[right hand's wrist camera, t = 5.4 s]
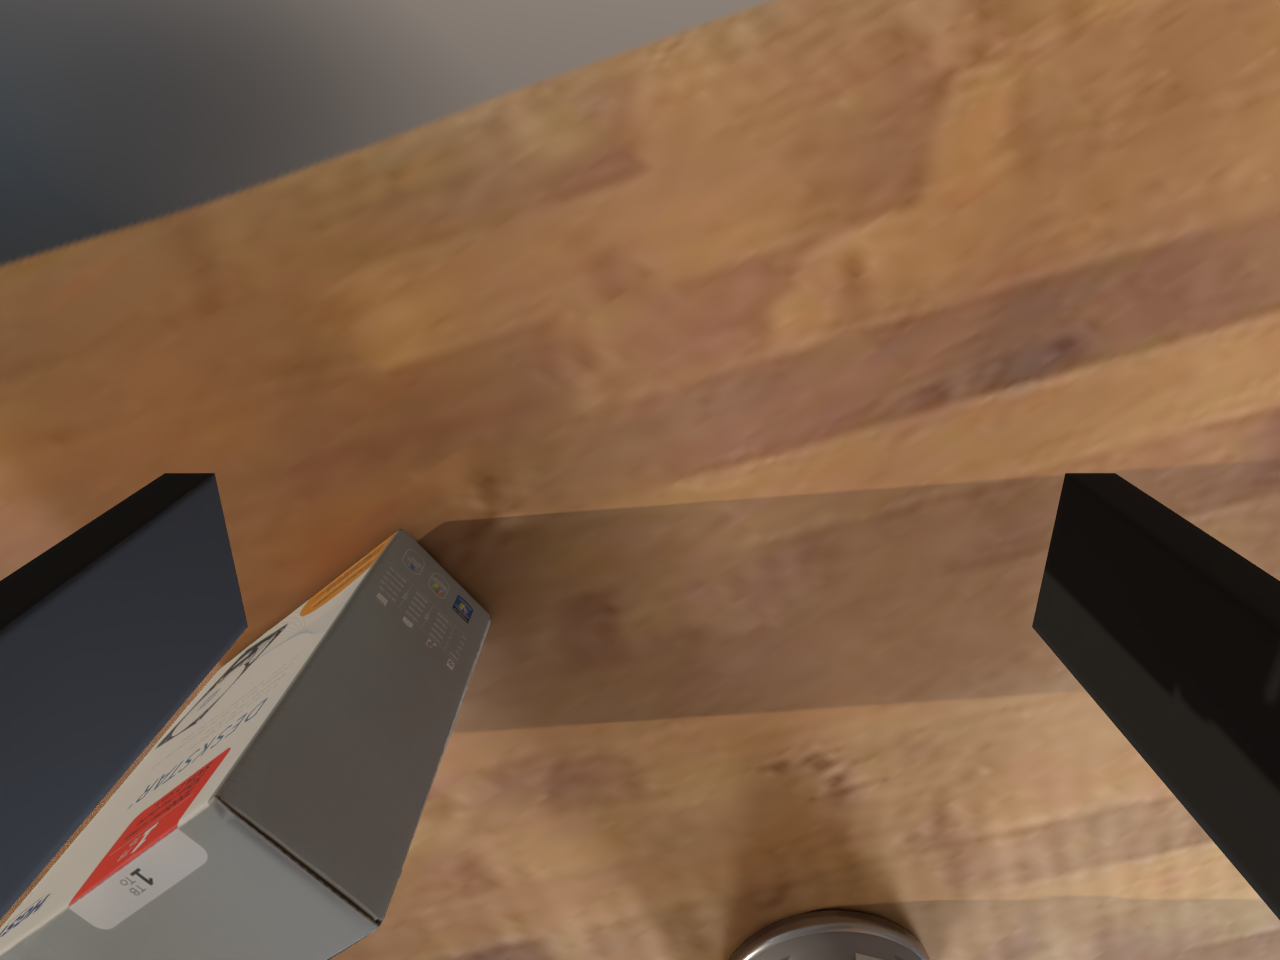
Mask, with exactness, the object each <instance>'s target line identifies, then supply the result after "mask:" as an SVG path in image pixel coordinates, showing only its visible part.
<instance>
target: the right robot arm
mask: <svg viewBox="0 0 1280 960" xmlns="http://www.w3.org/2000/svg"><path fill="white" fill-rule="evenodd" d="M247 627H248V626H247V621H246V616H245V612H244V607H243V603H242V598H241V593H240V589H239V584H238V579H237V575H236V570H235V566H234V561H233V556H232V552H231V547H230V543H229V538H228V533H227V529H226V524H225V519H224V515H223V510H222V506H221V501H220V496H219V492H218V487H217V483H216V478H215V473H165V474H163V475H162V476H160V477H159V478H157V479H156V480H154V481H153V482H151V483H149V484H148V485H146V486H145V487H143V488H142V489H140V490H139V491H137V492H136V493H134V494H133V495H131V496H130V497H128V498H127V499H125V500H124V501H122V502H120V503H119V504H117V505H116V506H114V507H113V508H111V509H110V510H108V511H107V512H105V513H104V514H102V515H101V516H99V517H98V518H96V519H95V520H93V521H91V522H90V523H88V524H87V525H85V526H84V527H82V528H81V529H79V530H78V531H76V532H75V533H73V534H72V535H70V536H69V537H67V538H65V539H64V540H62V541H61V542H59V543H58V544H56V545H55V546H53V547H52V548H50V549H49V550H47V551H46V552H44V553H43V554H41V555H40V556H38V557H36V558H35V559H33V560H32V561H30V562H29V563H27V564H26V565H24V566H23V567H21V568H20V569H18V570H17V571H15V572H14V573H12V574H11V575H9V576H7V577H6V578H4V579H3V580H1V581H0V920H1V918H2V917H3V916H4V915H5V914H6V913H7V911H8V910H9V909H10V908H11V907H12V905H13V904H14V903H15V902H16V901H17V899H18V898H19V897H20V896H21V895H22V894H23V892H24V891H25V890H26V889H27V888H28V886H29V885H30V884H31V883H32V882H33V881H34V879H35V878H36V877H37V876H38V875H39V873H40V872H41V871H42V870H43V869H44V867H45V866H46V865H47V864H48V863H49V862H50V860H51V859H52V858H53V857H54V856H55V854H56V853H57V852H58V851H59V850H60V849H61V847H62V846H63V845H64V844H65V843H66V841H67V840H68V839H69V838H70V837H71V836H72V834H73V833H74V832H75V831H76V830H77V828H78V827H79V826H80V825H81V824H82V822H83V821H84V820H85V819H86V818H87V817H88V815H89V814H90V813H91V812H92V811H93V809H94V808H95V807H96V806H97V805H98V804H99V802H100V801H101V800H102V799H103V798H104V796H105V795H106V794H107V793H108V792H109V791H110V789H111V788H112V787H113V786H114V785H115V783H116V782H117V781H118V780H119V779H120V777H121V776H122V775H123V774H124V773H125V772H126V770H127V769H128V768H129V767H130V766H131V764H132V763H133V762H134V761H135V760H136V759H137V757H138V756H139V755H140V754H141V753H142V751H143V750H144V749H145V748H146V747H147V746H148V744H149V743H150V742H151V741H152V740H153V738H154V737H155V736H156V735H157V734H158V732H159V731H160V730H161V729H162V728H163V727H164V725H165V724H166V723H167V722H168V721H169V719H170V718H171V717H172V716H173V715H174V714H175V712H176V711H177V710H178V709H179V708H180V706H181V705H182V704H183V703H184V702H185V701H186V699H187V698H188V697H189V696H190V695H191V693H192V692H193V691H194V690H195V689H196V687H197V686H198V685H199V684H200V683H201V682H202V680H203V679H204V678H205V677H206V676H207V674H208V673H209V672H210V671H211V670H212V669H213V667H214V666H215V665H216V664H217V663H218V661H219V660H220V659H221V658H222V657H223V655H224V654H225V653H226V652H227V651H228V650H229V648H230V647H231V646H232V645H233V644H234V642H235V641H236V640H237V639H238V638H239V637H240V635H241V634H242V633H243V632H244V631H245V629H246V628H247ZM1032 627H1033V628H1034V629H1035V631H1036V632H1037V633H1038V634H1039V635H1040V637H1041V638H1042V639H1043V640H1044V641H1045V642H1046V644H1047V645H1048V646H1049V647H1050V648H1051V650H1052V651H1053V652H1054V653H1055V654H1056V655H1057V657H1058V658H1059V659H1060V660H1061V661H1062V663H1063V664H1064V665H1065V666H1066V667H1067V669H1068V670H1069V671H1070V672H1071V673H1072V674H1073V676H1074V677H1075V678H1076V679H1077V680H1078V682H1079V683H1080V684H1081V685H1082V686H1083V687H1084V689H1085V690H1086V691H1087V692H1088V693H1089V695H1090V696H1091V697H1092V698H1093V699H1094V701H1095V702H1096V703H1097V704H1098V705H1099V706H1100V708H1101V709H1102V710H1103V711H1104V712H1105V714H1106V715H1107V716H1108V717H1109V718H1110V719H1111V721H1112V722H1113V723H1114V724H1115V725H1116V727H1117V728H1118V729H1119V730H1120V731H1121V732H1122V734H1123V735H1124V736H1125V737H1126V738H1127V740H1128V741H1129V742H1130V743H1131V744H1132V746H1133V747H1134V748H1135V749H1136V750H1137V751H1138V753H1139V754H1140V755H1141V756H1142V757H1143V759H1144V760H1145V761H1146V762H1147V763H1148V764H1149V766H1150V767H1151V768H1152V769H1153V770H1154V772H1155V773H1156V774H1157V775H1158V776H1159V777H1160V779H1161V780H1162V781H1163V782H1164V783H1165V785H1166V786H1167V787H1168V788H1169V789H1170V791H1171V792H1172V793H1173V794H1174V795H1175V796H1176V798H1177V799H1178V800H1179V801H1180V802H1181V804H1182V805H1183V806H1184V807H1185V808H1186V809H1187V811H1188V812H1189V813H1190V814H1191V815H1192V817H1193V818H1194V819H1195V820H1196V821H1197V822H1198V824H1199V825H1200V826H1201V827H1202V828H1203V830H1204V831H1205V832H1206V833H1207V834H1208V836H1209V837H1210V838H1211V839H1212V840H1213V841H1214V843H1215V844H1216V845H1217V846H1218V847H1219V849H1220V850H1221V851H1222V852H1223V853H1224V854H1225V856H1226V857H1227V858H1228V859H1229V860H1230V862H1231V863H1232V864H1233V865H1234V866H1235V868H1236V869H1237V870H1238V871H1239V872H1240V873H1241V875H1242V876H1243V877H1244V878H1245V879H1246V881H1247V882H1248V883H1249V884H1250V885H1251V886H1252V888H1253V889H1254V890H1255V891H1256V892H1257V894H1258V895H1259V896H1260V897H1261V898H1262V899H1263V901H1264V902H1265V903H1266V904H1267V905H1268V907H1269V908H1270V909H1271V910H1272V911H1273V913H1274V914H1275V915H1276V916H1277V917H1278V918H1279V920H1280V581H1279V580H1277V579H1276V578H1274V577H1273V576H1271V575H1269V574H1268V573H1266V572H1265V571H1263V570H1262V569H1260V568H1259V567H1257V566H1256V565H1254V564H1253V563H1251V562H1250V561H1248V560H1247V559H1245V558H1244V557H1242V556H1240V555H1239V554H1237V553H1236V552H1234V551H1233V550H1231V549H1230V548H1228V547H1227V546H1225V545H1224V544H1222V543H1221V542H1219V541H1218V540H1216V539H1215V538H1213V537H1211V536H1210V535H1208V534H1207V533H1205V532H1204V531H1202V530H1201V529H1199V528H1198V527H1196V526H1195V525H1193V524H1192V523H1190V522H1189V521H1187V520H1185V519H1184V518H1182V517H1181V516H1179V515H1178V514H1176V513H1175V512H1173V511H1172V510H1170V509H1169V508H1167V507H1166V506H1164V505H1163V504H1161V503H1160V502H1158V501H1156V500H1155V499H1153V498H1152V497H1150V496H1149V495H1147V494H1146V493H1144V492H1143V491H1141V490H1140V489H1138V488H1137V487H1135V486H1134V485H1132V484H1131V483H1129V482H1127V481H1126V480H1124V479H1123V478H1121V477H1120V476H1118V475H1117V474H1115V473H1065V478H1064V483H1063V487H1062V492H1061V496H1060V501H1059V506H1058V510H1057V515H1056V519H1055V524H1054V529H1053V533H1052V538H1051V543H1050V547H1049V552H1048V556H1047V561H1046V566H1045V570H1044V575H1043V579H1042V584H1041V589H1040V593H1039V598H1038V603H1037V607H1036V612H1035V616H1034V621H1033V626H1032ZM729 960H930V959H929V957H928V955H927V952H926V951H925V949H924V948H923V946H922V945H921V944H920V943H919V941H918V940H917V939H916V938H915V937H914V936H913V935H911V934H910V933H909V932H908V931H906V930H905V929H903V928H902V927H900V926H898V925H897V924H895V923H893V922H890V921H888V920H886V919H883V918H880V917H878V916H874V915H870V914H866V913H860V912H854V911H840V910H831V911H817V912H810V913H805V914H800V915H796V916H792V917H789V918H786V919H783V920H780V921H778V922H776V923H773V924H771V925H769V926H767V927H765V928H763V929H762V930H760V931H758V932H757V933H755V934H754V935H752V936H751V937H750V938H748V939H747V940H746V941H745V942H744V943H742V944H741V945H740V946H739V947H738V949H737V950H736V951H735V952H734V953H733V954H732V956H731V957H730V959H729Z"/></svg>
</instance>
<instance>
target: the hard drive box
mask: <svg viewBox="0 0 1280 960" xmlns="http://www.w3.org/2000/svg"><path fill="white" fill-rule="evenodd" d="M489 618H490V615H489V614H488V613H487V612H486V611H485V610H484V609H483V608H482V607H481V606H480V605H479V604H478V603H477V602H476V601H475V600H474V599H473V598H472V597H471V596H470V595H469V594H468V593H467V592H466V591H465V590H464V589H463V588H462V587H461V586H460V585H459V584H458V583H457V582H456V581H455V580H454V579H453V578H452V577H451V576H450V575H449V574H448V573H447V572H446V571H445V570H444V569H443V568H442V567H441V566H440V565H439V564H438V563H437V562H436V561H435V560H434V559H433V558H432V557H431V556H430V555H429V554H428V553H427V552H426V551H425V550H424V549H423V548H422V547H421V546H420V545H419V544H418V543H417V542H416V541H415V540H414V539H413V538H412V537H411V536H410V535H409V534H408V533H407V532H405V531H404V530H401V529H400V530H398V531H397V532H395V533H394V534H393V535H391V536H390V537H389V538H387V539H386V540H385V541H383V542H382V543H381V544H380V545H378V546H377V547H376V548H374V549H373V550H372V551H371V552H369V553H368V554H367V555H365V556H364V557H363V558H361V559H360V560H359V561H357V562H356V563H355V564H354V565H352V566H351V567H350V568H349V569H347V570H346V571H345V572H343V573H342V574H341V575H340V576H338V577H337V578H336V579H335V580H333V581H332V582H331V583H329V584H328V585H327V586H326V587H324V588H323V589H322V590H320V591H319V592H318V593H317V594H315V595H314V596H313V597H312V598H310V599H309V600H308V601H306V602H305V603H304V604H302V605H301V606H300V607H298V608H297V609H296V610H295V611H293V612H292V613H291V614H290V615H288V616H287V617H286V618H284V619H283V620H282V621H280V622H279V623H278V624H277V625H275V626H274V627H273V628H271V629H270V630H268V631H267V632H266V633H265V634H263V635H262V636H261V637H260V638H259V639H257V640H256V641H255V642H253V643H252V644H251V645H249V646H248V647H247V648H246V649H244V650H243V651H242V652H241V653H239V654H238V655H237V656H236V657H235V658H233V659H232V660H231V661H229V662H228V663H227V664H225V665H224V666H223V667H222V668H220V669H219V671H218V672H217V673H216V674H215V675H214V676H213V677H212V678H211V680H210V681H209V682H208V683H207V684H206V686H205V687H204V688H203V689H202V690H201V691H200V693H199V694H198V695H197V696H196V697H195V698H194V700H193V701H192V702H191V703H190V704H189V705H188V706H187V708H186V709H185V710H184V711H183V712H182V714H181V715H180V716H179V717H178V718H177V719H176V721H175V722H174V723H173V724H172V725H171V727H170V728H169V729H168V730H167V731H166V733H165V734H164V735H163V736H162V737H161V739H160V740H159V741H158V742H157V743H156V745H155V746H154V747H153V748H152V749H151V751H150V752H149V753H148V754H147V755H146V757H145V758H144V759H143V760H142V761H141V762H140V764H139V765H138V766H137V767H136V768H135V770H134V771H133V772H132V773H131V774H130V776H129V777H128V778H127V779H126V780H125V781H124V783H123V784H122V785H121V786H120V787H119V788H118V790H117V791H116V792H115V793H114V794H113V795H112V797H111V798H110V799H109V800H108V801H107V803H106V804H105V805H104V806H103V807H102V809H101V810H100V811H99V812H98V813H97V815H96V816H95V817H94V818H93V819H92V820H91V822H90V823H89V824H88V825H87V826H86V827H85V829H84V830H83V831H82V832H81V833H80V834H79V835H78V837H77V838H76V839H75V840H74V841H73V843H72V844H71V845H70V846H69V847H68V849H67V850H66V851H65V852H64V853H63V854H62V856H61V857H60V858H59V859H58V860H57V862H56V863H55V864H54V865H53V866H52V867H51V869H50V870H49V871H48V872H47V873H46V875H45V876H44V877H43V878H42V879H41V880H40V882H39V883H38V884H37V885H36V886H35V888H34V889H33V890H32V891H31V892H30V893H29V895H28V896H27V897H26V898H25V899H24V901H23V902H22V903H21V904H20V905H19V906H18V908H17V909H16V910H15V911H14V912H13V914H12V915H11V916H10V917H9V918H8V920H7V921H6V922H5V923H4V924H3V925H2V926H1V928H0V960H330V959H331V958H333V957H335V956H336V955H338V954H339V953H341V952H342V951H344V950H346V949H347V948H349V947H350V946H352V945H353V944H355V943H357V942H358V941H360V940H361V939H363V938H364V937H366V936H367V935H369V934H371V933H372V932H374V931H375V930H377V929H378V928H379V926H380V924H381V922H382V920H383V919H384V917H385V914H386V911H387V908H388V906H389V903H390V900H391V898H392V895H393V893H394V890H395V887H396V884H397V881H398V879H399V877H400V875H401V872H402V867H403V864H404V861H405V859H406V856H407V853H408V850H409V847H410V844H411V841H412V839H413V837H414V833H415V830H416V828H417V825H418V822H419V819H420V817H421V814H422V811H423V808H424V805H425V803H426V800H427V797H428V794H429V791H430V789H431V786H432V783H433V780H434V778H435V775H436V772H437V770H438V767H439V764H440V761H441V759H442V756H443V753H444V751H445V748H446V745H447V742H448V740H449V737H450V734H451V731H452V728H453V726H454V723H455V720H456V717H457V715H458V712H459V709H460V706H461V704H462V701H463V698H464V695H465V693H466V690H467V687H468V685H469V682H470V679H471V676H472V674H473V671H474V668H475V665H476V663H477V660H478V657H479V654H480V652H481V649H482V646H483V643H484V641H485V638H486V635H487V632H488V630H489V627H490V623H491V620H490V619H489Z"/></svg>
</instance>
